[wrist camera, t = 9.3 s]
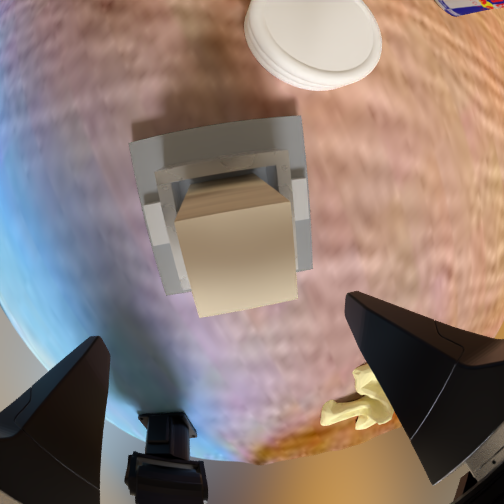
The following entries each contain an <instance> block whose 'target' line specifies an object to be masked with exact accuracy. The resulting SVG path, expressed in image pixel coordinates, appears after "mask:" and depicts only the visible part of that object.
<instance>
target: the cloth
mask: <svg viewBox="0 0 504 504" xmlns="http://www.w3.org/2000/svg"><path fill="white" fill-rule="evenodd" d="M352 374H353V375H354V378H355V389H356V391H357V392H358V393H359V394H360V395H365V396H364V397H362V398H360V399H358V400H355V401H352V402H346V403H336V402H335V401H334V400H330V401H328V402H326V403H325V404H324V405H323V407H322V412H321V420H320V424H321V425H323V426H326V425H331V424H333V423H336V422H339V421H342V420H345V419H348V418H351V417H354V416H358V420H357V422H356V423H355V424H356V428H355V429H356V430H357V429H365V428H368V427H370V426H372V425H374V424H375V423H378V424H379V425H380V424H383V423H386V422H388V421H389V420H391V419H392V415H393V412H394V409H393V408H392V406H391V404H390V402H389V400H388V398H387V397H386V395H385V393H384V391H383V389H382V388H381V386H380V384H379V382H378V381H377V379H376V377H375V375H374V374H373V372H372V370H371V368H370V367H369V365H368V363H367V364H365V365H362V366H359V367H357V368H356V369H354V371H353V372H352Z"/></svg>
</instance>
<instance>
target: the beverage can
mask: <svg viewBox="0 0 504 504" xmlns="http://www.w3.org/2000/svg"><path fill="white" fill-rule="evenodd" d="M435 1H436V3H437V4H438V5H439V6H440V7H441V8H442V9H443V10H444V11H445V12H447V13H448V14H450V15H452V16H455V17H457V16H461V15H465V14H470V13H474V12H479V11H484V10H490V9H496V8H503V7H504V0H435Z"/></svg>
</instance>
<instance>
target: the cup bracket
mask: <svg viewBox="0 0 504 504" xmlns="http://www.w3.org/2000/svg"><path fill="white" fill-rule="evenodd" d="M259 167H265V170H266V178H267V184H268V185H270V186H271V187H272V188H274V189H275V190H276V191H278V192H279V193H280V194H281V195H283V196H284V197H285V198H287V199H288V200H289V201H290V202H291V213H292V224H293V236H294V249H295V263H296V270H297V269H298V257H297V241H296V228H295V215H294V203H293V192H292V181H291V171H290V161H289V152H288V150H284V149H276V148H272V149H264V150H256V151H248V152H241V153H234V154H227V155H221V156H215V157H209V158H204V159H198V160H193V161H188V162H183V163H178V164H173V165H168V166H164V167H162V168H160V169H159V170H157V171H155V172H154V174H155V179H156V184H157V189H158V194H159V198H160V203H161V208H162V212H163V217H164V221H165V225H166V229H167V234H168V238H169V242H170V246H171V250H172V254H173V257H174V261H175V265H176V269H177V272H178V276H179V280H180V283H181V287H182V290H188V289H191V287H190V283H189V279H188V276H187V272H186V268H185V264H184V260H183V256H182V252H181V248H180V244H179V240H178V236H177V232H176V228H175V223H174V221H175V219H176V216H177V214H178V212H179V209H180V207H181V205H182V202H183V201H182V196H181V191H180V186H179V181H182V180H187V179H192V178H197V177H202V176H208V175H214V174H219V173H226V172H232V171H238V170H245V169H252V168H259Z"/></svg>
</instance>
